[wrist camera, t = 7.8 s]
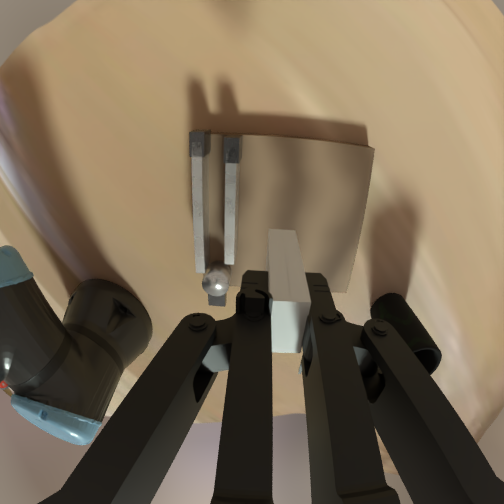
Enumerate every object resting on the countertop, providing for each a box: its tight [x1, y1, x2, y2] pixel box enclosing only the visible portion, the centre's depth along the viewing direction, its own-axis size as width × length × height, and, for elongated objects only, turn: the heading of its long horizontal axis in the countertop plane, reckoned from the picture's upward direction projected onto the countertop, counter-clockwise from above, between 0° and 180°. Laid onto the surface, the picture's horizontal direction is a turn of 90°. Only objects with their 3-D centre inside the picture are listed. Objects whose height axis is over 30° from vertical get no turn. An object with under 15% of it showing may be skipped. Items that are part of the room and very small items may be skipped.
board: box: [203, 133, 375, 293], centre depth 32 cm, size 18×18×2 cm
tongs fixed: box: [189, 130, 232, 307], centre depth 30 cm, size 4×20×3 cm, turn 178°
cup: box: [370, 293, 442, 375], centre depth 33 cm, size 8×8×12 cm
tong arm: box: [223, 135, 243, 265], centre depth 29 cm, size 1×13×3 cm, turn 178°
